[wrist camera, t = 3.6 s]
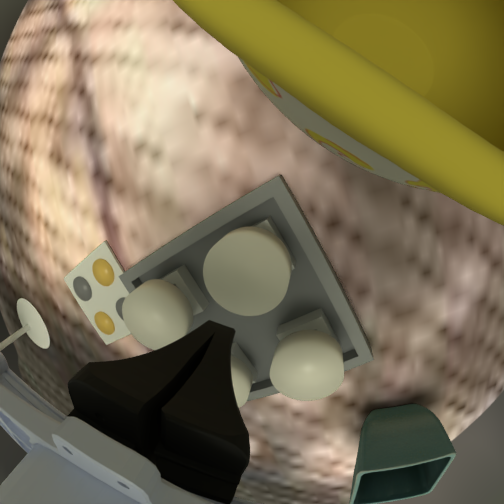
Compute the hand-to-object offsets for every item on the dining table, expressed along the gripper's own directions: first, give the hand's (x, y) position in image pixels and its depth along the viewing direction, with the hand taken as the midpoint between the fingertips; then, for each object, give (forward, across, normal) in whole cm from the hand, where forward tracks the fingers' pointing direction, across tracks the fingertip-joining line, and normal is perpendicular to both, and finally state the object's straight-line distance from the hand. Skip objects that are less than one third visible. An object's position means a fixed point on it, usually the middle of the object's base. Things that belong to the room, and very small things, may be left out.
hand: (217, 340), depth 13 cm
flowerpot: (+10, -5, -18) cm, 21 cm away
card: (+10, +14, +8) cm, 19 cm away
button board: (+10, 0, +4) cm, 10 cm away
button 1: (+8, -6, +4) cm, 10 cm away
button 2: (+8, 0, -2) cm, 8 cm away
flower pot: (+10, -18, +13) cm, 24 cm away
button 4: (+8, +6, +4) cm, 10 cm away
